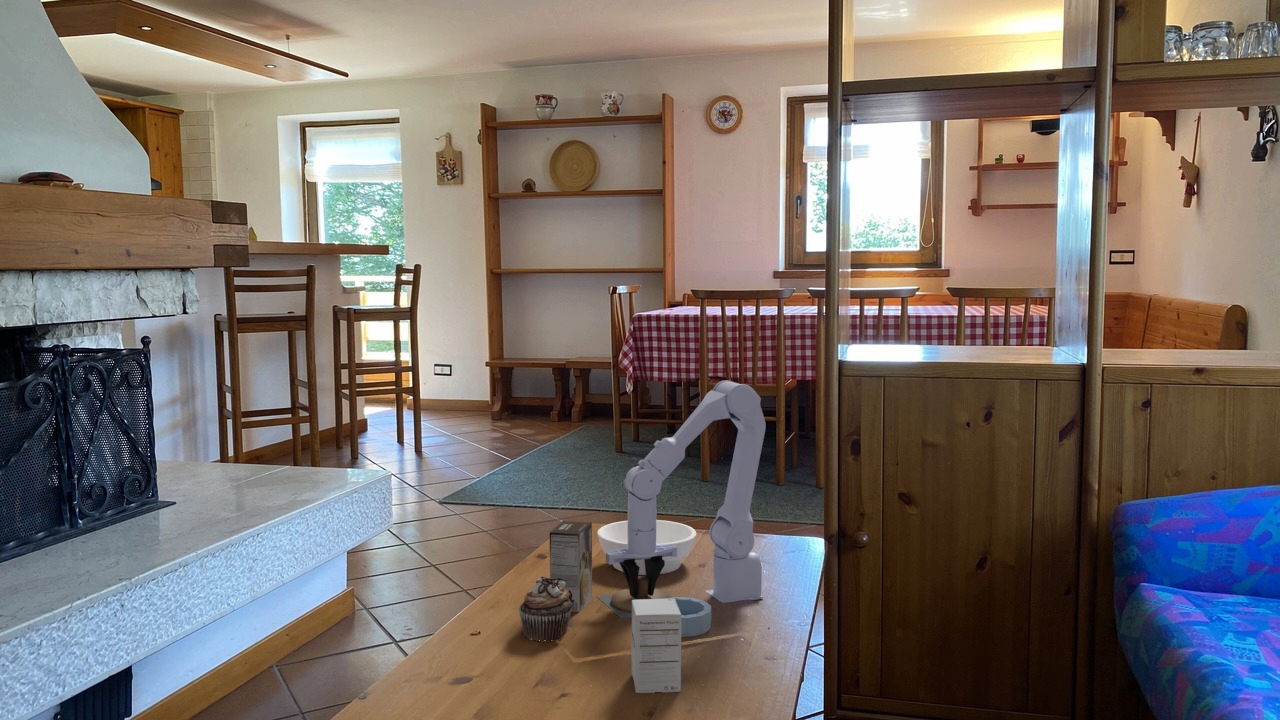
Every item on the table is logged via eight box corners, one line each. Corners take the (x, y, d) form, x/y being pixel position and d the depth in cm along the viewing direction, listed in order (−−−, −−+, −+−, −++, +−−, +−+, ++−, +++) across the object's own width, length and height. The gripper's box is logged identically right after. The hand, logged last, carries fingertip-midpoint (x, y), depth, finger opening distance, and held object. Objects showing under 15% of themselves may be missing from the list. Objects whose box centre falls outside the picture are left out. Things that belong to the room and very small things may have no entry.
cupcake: (523, 623, 170) (523, 571, 169) (574, 624, 170) (574, 572, 169) (514, 643, 160) (514, 587, 160) (568, 644, 160) (568, 588, 159)
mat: (659, 590, 189) (659, 587, 189) (688, 612, 176) (688, 609, 176) (596, 599, 184) (596, 596, 184) (621, 622, 171) (621, 619, 171)
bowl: (661, 548, 221) (662, 515, 220) (716, 573, 202) (716, 536, 201) (579, 562, 209) (579, 526, 209) (628, 589, 190) (629, 550, 189)
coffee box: (562, 597, 185) (562, 519, 184) (592, 599, 183) (592, 521, 182) (548, 612, 176) (548, 531, 175) (580, 615, 174) (580, 533, 173)
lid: (656, 589, 188) (656, 566, 187) (681, 608, 177) (682, 583, 176) (602, 597, 183) (602, 572, 183) (625, 616, 172) (625, 590, 172)
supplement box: (630, 674, 148) (631, 598, 147) (675, 673, 148) (676, 597, 147) (634, 694, 140) (634, 614, 139) (681, 692, 141) (682, 613, 140)
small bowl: (694, 614, 175) (694, 594, 175) (721, 634, 165) (721, 612, 165) (642, 622, 171) (642, 601, 171) (666, 643, 161) (666, 621, 160)
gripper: (666, 519, 185) (666, 584, 186) (600, 526, 180) (600, 593, 181) (681, 528, 179) (681, 595, 180) (613, 535, 173) (613, 604, 174)
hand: (641, 595), depth 180 cm, fingers open, 3 cm apart
